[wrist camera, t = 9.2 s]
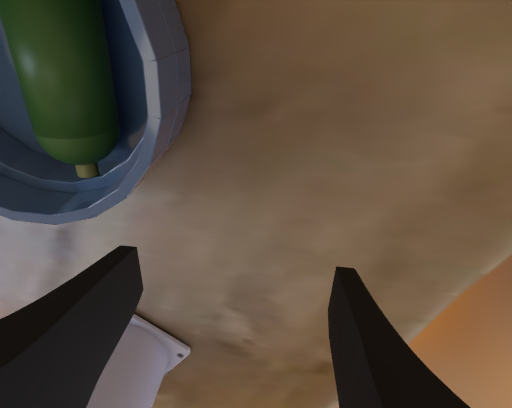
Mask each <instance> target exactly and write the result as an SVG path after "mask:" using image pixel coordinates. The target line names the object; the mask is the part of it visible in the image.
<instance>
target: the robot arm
mask: <svg viewBox="0 0 512 408" xmlns="http://www.w3.org/2000/svg"><path fill="white" fill-rule="evenodd" d="M142 292H143V283H142V277H141V271H140V265H139V258H138V252H137V247H131V246H119V247H117V248H116V249H114V250H113V251H111V252H110V253H108V254H107V255H106V256H104V257H103V258H101V259H100V260H98V261H97V262H95V263H94V264H93V265H91V266H90V267H88V268H87V269H85V270H84V271H82V272H81V273H79V274H78V275H77V276H75V277H74V278H72V279H71V280H69V281H67V282H66V283H64V284H63V285H61V286H59V287H58V288H56V289H55V290H53V291H51V292H50V293H48V294H47V295H45V296H43V297H42V298H40V299H38V300H36V301H35V302H33V303H31V304H29V305H27V306H25V307H24V308H22V309H20V310H18V311H16V312H14V313H12V314H10V315H8V316H6V317H4V318H2V319H0V408H152V406H153V403H154V401H155V398H156V395H157V392H158V390H159V387H160V384H161V381H162V379H163V376H164V375H165V374H167V373H168V372H169V371H170V370H171V369H173V368H174V367H175V366H176V365H177V364H179V363H180V362H181V361H182V360H183V359H185V358H186V357H187V356H188V355H189V354H190V348H189V347H188V346H187V345H185V344H183V343H182V342H180V341H178V340H177V339H175V338H173V337H172V336H170V335H168V334H167V333H165V332H164V331H162V330H160V329H159V328H157V327H155V326H154V325H152V324H150V323H149V322H147V321H145V320H144V319H142V318H140V317H139V316H137V315H135V314H134V312H135V310H136V308H137V305H138V303H139V300H140V297H141V294H142ZM328 323H329V340H330V347H331V353H332V360H333V367H334V373H335V380H336V387H337V393H338V400H339V408H470V407H469V406H468V405H467V404H466V403H464V402H463V401H462V400H461V399H460V398H459V397H458V396H456V394H454V393H453V392H452V391H451V390H450V389H449V388H448V387H447V386H446V385H445V384H444V383H443V382H442V381H441V380H440V379H439V378H438V377H437V376H436V375H434V374H433V373H432V372H431V371H430V370H429V368H427V366H426V365H425V364H424V363H423V362H422V361H421V360H420V359H419V358H418V357H417V356H416V355H415V353H414V352H413V351H412V350H411V349H410V348H409V346H408V345H407V344H406V343H405V342H404V340H403V339H402V338H401V337H400V335H399V334H398V333H397V331H396V330H395V329H394V328H393V326H392V325H391V324H390V322H389V321H388V320H387V318H386V317H385V315H384V314H383V312H382V311H381V310H380V308H379V307H378V305H377V304H376V302H375V301H374V299H373V298H372V296H371V295H370V293H369V291H368V290H367V288H366V287H365V285H364V283H363V282H362V280H361V278H360V276H359V275H358V273H357V271H356V270H355V269H354V268H345V267H336V271H335V276H334V281H333V286H332V292H331V297H330V302H329V307H328Z"/></svg>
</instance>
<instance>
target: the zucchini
mask: <svg viewBox="0 0 512 408" xmlns="http://www.w3.org/2000/svg"><path fill="white" fill-rule="evenodd" d="M0 17H1V20H2V24H3V27H4V31H5V34H6V38H7V41H8V45H9V48H10V52H11V55H12V59H13V62H14V66H15V69H16V73H17V77H18V80H19V84H20V87H21V91H22V94H23V98H24V101H25V105H26V108H27V112H28V115H29V119H30V122H31V126H32V129H33V132H34V135H35V137H36V140H37V141H38V143H39V144H40V146H41V147H42V148H43V149H44V150H45V151H46V152H47V153H48V154H49V155H51V156H52V157H54V158H55V159H57V160H59V161H62V162H64V163H67V164H72V165H75V167H76V171H77V175H78V176H79V177H81V178H91V177H94V176H97V175H98V174H99V168H98V163H97V162H98V161H100V160H102V159H104V158H105V157H107V156H108V155H109V154H110V153H111V152H112V151H113V149H114V148H115V146H116V144H117V142H118V139H119V135H120V121H119V115H118V108H117V102H116V96H115V89H114V83H113V76H112V70H111V64H110V57H109V51H108V44H107V38H106V32H105V25H104V19H103V13H102V6H101V0H0Z"/></svg>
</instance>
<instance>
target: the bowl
mask: <svg viewBox="0 0 512 408" xmlns="http://www.w3.org/2000/svg"><path fill="white" fill-rule="evenodd" d="M101 6H102V13H103V19H104V25H105V32H106V38H107V44H108V51H109V57H110V64H111V70H112V76H113V83H114V89H115V96H116V102H117V108H118V115H119V121H120V135H119V139H118V142H117V144H116V146H115V148H114V149H113V151H112V152H111V153H110V154H109V155H108V156H107V157H105V158H104V159H102V160H100V161H98V162H97V163H98V168H99V174H98V175H97V176H94V177H91V178H81V177H79V176H78V175H77V171H76V167H75V165H72V164H67V163H64V162H62V161H59V160H57V159H55V158H54V157H52V156H51V155H49V154H48V153H47V152H46V151H45V150H44V149H43V148H42V147H41V146H40V144H39V143H38V141H37V140H36V137H35V135H34V132H33V129H32V126H31V122H30V119H29V115H28V112H27V108H26V105H25V101H24V98H23V94H22V91H21V87H20V84H19V80H18V77H17V73H16V69H15V66H14V62H13V59H12V55H11V52H10V48H9V45H8V41H7V38H6V34H5V31H4V27H3V24H2V20H1V17H0V216H3V217H6V218H9V219H11V220H16V221H25V222H34V223H44V224H53V225H58V224H63V223H68V222H73V221H79V220H84V219H89V218H94V217H96V216H98V215H100V214H101V213H103V212H105V211H106V210H108V209H109V208H111V207H113V206H114V205H116V204H118V203H119V202H121V201H123V200H124V199H126V198H127V197H128V196H129V195H130V194H131V193H132V192H133V190H134V189H135V188H136V187H137V186H138V185H139V184H140V182H141V181H142V180H143V179H144V178H145V177H146V175H147V174H148V173H149V172H150V171H151V170H152V169H153V168H154V166H155V165H156V164H157V163H158V162H159V161H160V160H161V158H162V157H163V156H164V154H165V153H166V152H167V150H168V149H169V147H170V146H171V145H172V143H173V142H174V141H175V139H176V138H177V136H178V135H179V134H180V131H181V129H182V126H183V122H184V119H185V115H186V112H187V108H188V105H189V101H190V98H191V64H190V48H189V42H188V39H187V36H186V33H185V30H184V27H183V24H182V21H181V18H180V15H179V11H178V8H177V5H176V2H175V0H101Z"/></svg>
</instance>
